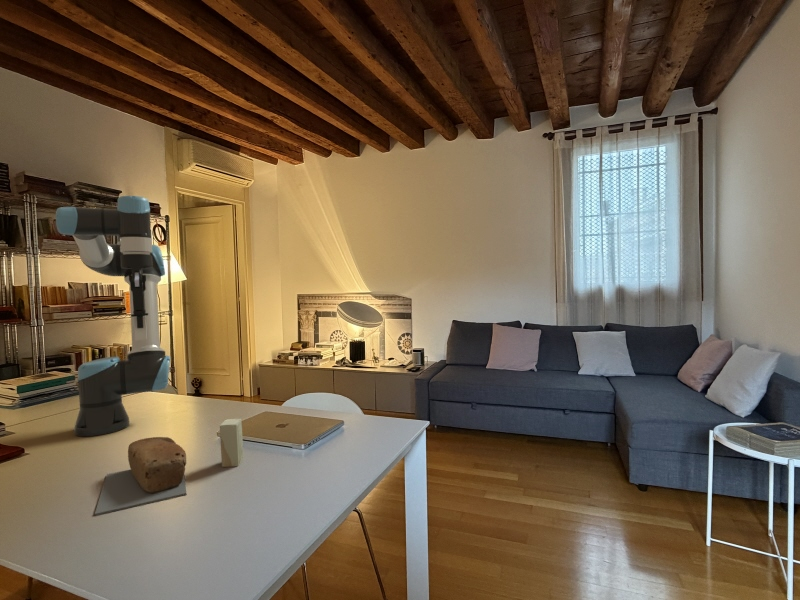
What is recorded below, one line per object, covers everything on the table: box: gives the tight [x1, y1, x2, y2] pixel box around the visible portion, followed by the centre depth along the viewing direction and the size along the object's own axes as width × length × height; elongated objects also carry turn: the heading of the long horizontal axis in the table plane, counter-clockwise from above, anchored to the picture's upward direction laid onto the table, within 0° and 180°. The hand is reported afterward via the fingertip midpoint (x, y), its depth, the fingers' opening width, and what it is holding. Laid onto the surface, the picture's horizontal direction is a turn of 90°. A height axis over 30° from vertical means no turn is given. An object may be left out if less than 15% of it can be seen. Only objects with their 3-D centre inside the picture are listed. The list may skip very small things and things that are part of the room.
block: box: [127, 436, 187, 493], centre depth 108 cm, size 11×8×20 cm
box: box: [219, 418, 244, 468], centre depth 115 cm, size 5×4×11 cm
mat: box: [94, 468, 188, 517], centre depth 104 cm, size 22×17×1 cm
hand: (141, 339), depth 121 cm, fingers closed
